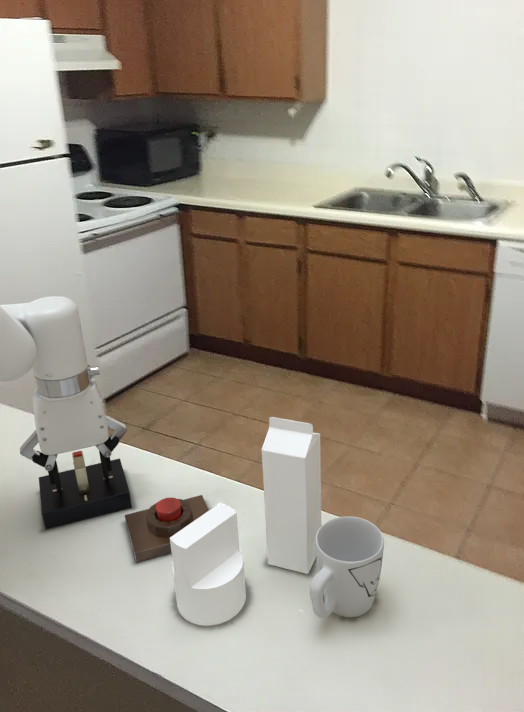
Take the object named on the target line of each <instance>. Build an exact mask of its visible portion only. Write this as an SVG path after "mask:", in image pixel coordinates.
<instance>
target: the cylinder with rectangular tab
mask: <svg viewBox="0 0 524 712" xmlns="http://www.w3.org/2000/svg"><path fill="white" fill-rule="evenodd" d="M238 525H239V524H238V512H237V511H236V510H235V509H234V508H233V507H231V506H230V505H228V504H226V503H222V502H219V503H217V504H216V505H215V506H213V507H212V508H210V509H209V511H208V512H206V513H205V514H203V515H202V516H200V517H199V518H198V519H196V520H195V521H193V522H192V523H190V524H189V525H187V526H186V527H185V528H183V529H182V530H180V531H179V532H177V533H176V534H174V535H173V536H172V537H170V544H171V558H172V564H171V566H172V577H173V584H174V592H175V593H174V594H175V600H176V608H177V611H178V612H179V614H180V615H181V617H183V618H184V619H185V620H186V621H188V622H189V623H191V624H192V625H193V624H194V625H198V626H203V627H204V626H206V627H207V626H209V627H210V626H216V625H217V626H218V625H221V624H223V623H226V622H228V621H230V620H231V619H233V618H234V617H236V616H237V615H238V614H239V613H240V612H241V610H242V609H243V607H244V605H245V603H246V599H247V589H246V576H245V575H246V574H245V564H244V563H245V562H244V556H243V553H242V551H241V549H240V539H239V538H240V537H239V526H238Z"/></svg>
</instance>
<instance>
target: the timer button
mask: <svg viewBox="0 0 524 712" xmlns="http://www.w3.org/2000/svg"><path fill="white" fill-rule="evenodd" d="M178 499H179V498H176V497H165V498H161V499H160V500H158V501H157V502H158V503H157V502H156V503H157V504H156V503H155V504H156V513H157V518H158V520H160V521H161V522H171V521H174V520H177V519H178V518H180V516H181V514H182V511H181V503H180V501H179V500H178Z"/></svg>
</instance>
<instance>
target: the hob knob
mask: <svg viewBox="0 0 524 712" xmlns="http://www.w3.org/2000/svg"><path fill="white" fill-rule="evenodd" d="M71 456H72V457H71V458H72V462H73V467H74V469H75V474H76V479H77V484H78V489H79V494H83V493H87V492H90V488H89V483H88V478H87V472H86V467H85V466H86V463H85V458H84V457H85V456H84V453H83V451H82V450H76V451H72V453H71Z"/></svg>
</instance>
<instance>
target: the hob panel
mask: <svg viewBox="0 0 524 712" xmlns="http://www.w3.org/2000/svg"><path fill="white" fill-rule="evenodd" d="M110 460H111V466H112V471H108V475H109V479H107V480H106V479H104V475H103V471H102V466H101V462H98V463H94V464H90V465H85V467H86V472H87V478H88V483H89V488H90V492H87V493H83V494H79V489H78V484H77V479H76V474H75V468H74V469H68V470H63V471H59V476H60V481H61V489H62V490H60V491H58V492H57V489H56V485H55V484H53V485H51V483H50V479H49V474H47V475H42V476H39V477H38V485H39V486H38V487H39V496H40V507H41V516H42V521H43V525H44V529H45V531H47V530H51V529H55V528H57V527H62V526H67V525H70V524H73V523H77V522H81V521H85V520H89V519H93V518H96V517H101V516H105V515H108V514H113V513H117V512H120V511H124V510H127V509H132V508H133V504H132V498H131V492H130V488H129V485H128V481H127V478H126V474H125V470H124V468H123V464H122V461H121V458H115V459H110Z"/></svg>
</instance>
